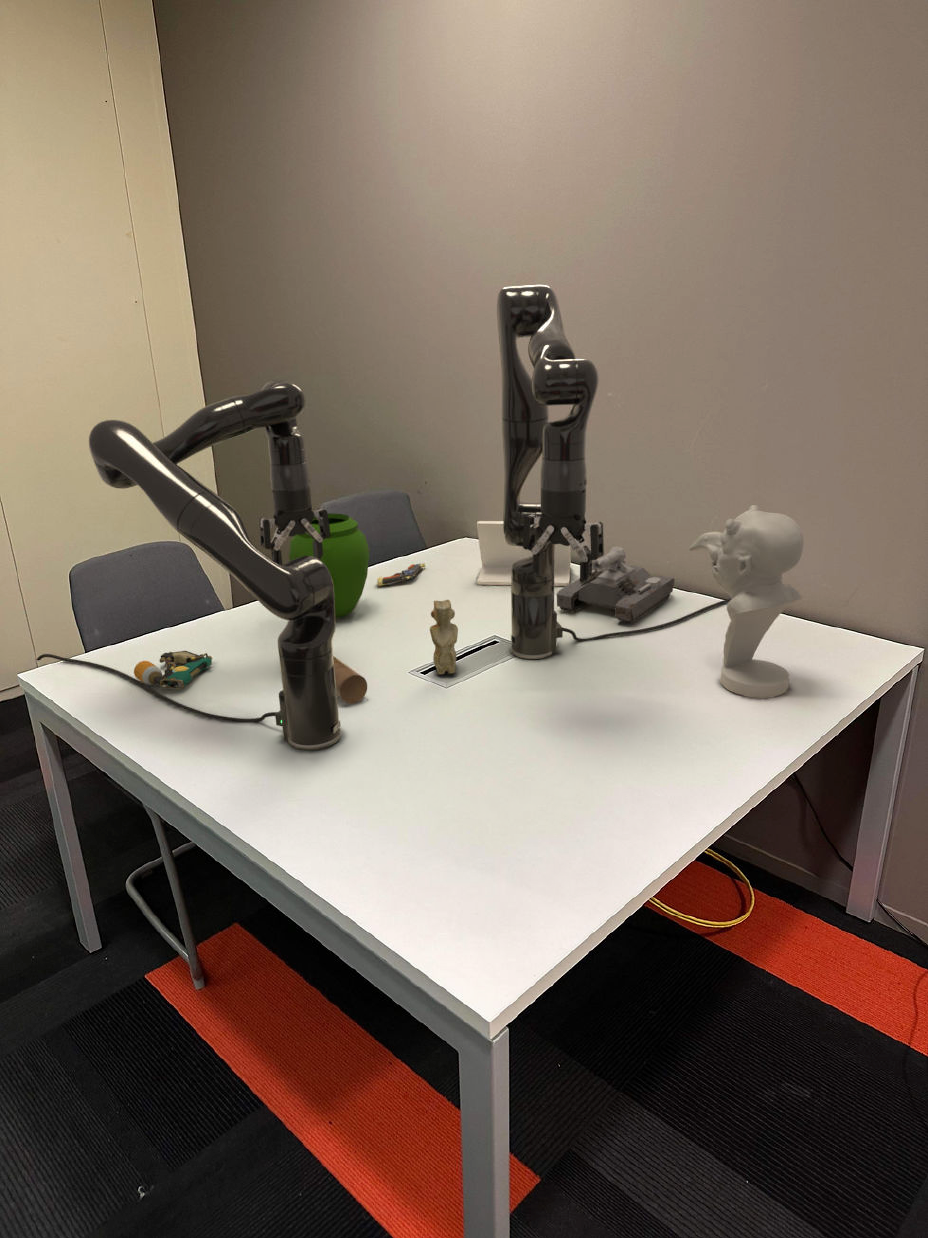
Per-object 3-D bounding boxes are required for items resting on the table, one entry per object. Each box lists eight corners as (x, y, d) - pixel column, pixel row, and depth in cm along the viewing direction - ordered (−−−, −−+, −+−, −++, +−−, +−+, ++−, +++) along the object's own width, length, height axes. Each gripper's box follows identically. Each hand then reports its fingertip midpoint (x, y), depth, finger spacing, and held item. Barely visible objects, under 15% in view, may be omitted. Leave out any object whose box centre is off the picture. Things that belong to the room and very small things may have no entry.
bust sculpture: (721, 647, 187) (735, 489, 174) (811, 688, 167) (833, 512, 154) (664, 663, 180) (674, 499, 167) (750, 707, 160) (769, 525, 147)
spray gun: (177, 659, 191) (231, 671, 185) (120, 684, 176) (176, 698, 171) (176, 641, 190) (230, 653, 184) (118, 665, 175) (174, 678, 169)
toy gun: (374, 578, 232) (409, 575, 230) (392, 563, 250) (425, 560, 247) (376, 588, 232) (411, 585, 230) (394, 572, 250) (427, 569, 248)
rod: (368, 699, 168) (366, 671, 166) (341, 707, 165) (338, 679, 163) (313, 658, 188) (311, 633, 186) (288, 664, 185) (285, 639, 183)
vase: (389, 608, 216) (383, 514, 208) (339, 633, 201) (330, 533, 192) (330, 596, 226) (322, 506, 218) (278, 619, 211) (267, 523, 202)
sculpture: (458, 662, 183) (456, 596, 178) (460, 676, 176) (457, 608, 171) (431, 663, 183) (428, 597, 177) (431, 677, 176) (428, 609, 171)
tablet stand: (569, 585, 229) (570, 524, 223) (476, 584, 232) (475, 523, 226) (570, 566, 246) (571, 508, 240) (484, 564, 249) (483, 507, 243)
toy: (603, 584, 229) (605, 530, 224) (673, 597, 218) (677, 540, 213) (555, 612, 210) (556, 553, 205) (630, 627, 199) (633, 566, 194)
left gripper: (315, 477, 176) (322, 553, 182) (249, 487, 169) (258, 565, 174) (331, 482, 170) (338, 561, 176) (263, 493, 163) (272, 574, 168)
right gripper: (514, 485, 142) (515, 577, 148) (592, 493, 135) (590, 590, 141) (536, 477, 148) (536, 566, 154) (612, 484, 141) (609, 578, 146)
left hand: (298, 563), depth 175 cm, fingers open, 8 cm apart
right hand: (562, 577), depth 147 cm, fingers open, 8 cm apart
